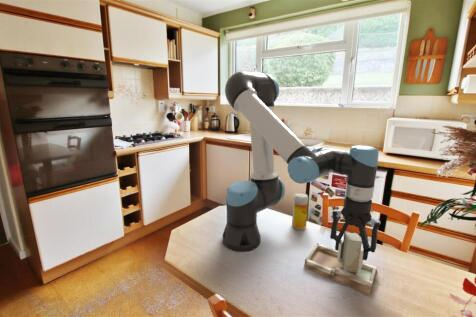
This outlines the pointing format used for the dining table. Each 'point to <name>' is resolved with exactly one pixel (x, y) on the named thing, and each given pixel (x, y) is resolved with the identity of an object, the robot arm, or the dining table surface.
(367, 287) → the shallow beige tray
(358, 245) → the box
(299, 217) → the glass of beer
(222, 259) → the dining table surface
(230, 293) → the dining table surface
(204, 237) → the dining table surface
